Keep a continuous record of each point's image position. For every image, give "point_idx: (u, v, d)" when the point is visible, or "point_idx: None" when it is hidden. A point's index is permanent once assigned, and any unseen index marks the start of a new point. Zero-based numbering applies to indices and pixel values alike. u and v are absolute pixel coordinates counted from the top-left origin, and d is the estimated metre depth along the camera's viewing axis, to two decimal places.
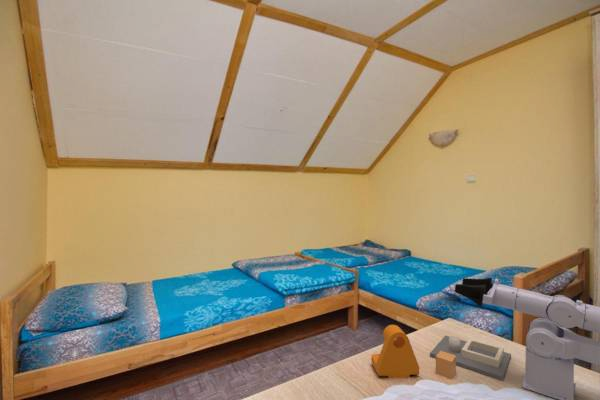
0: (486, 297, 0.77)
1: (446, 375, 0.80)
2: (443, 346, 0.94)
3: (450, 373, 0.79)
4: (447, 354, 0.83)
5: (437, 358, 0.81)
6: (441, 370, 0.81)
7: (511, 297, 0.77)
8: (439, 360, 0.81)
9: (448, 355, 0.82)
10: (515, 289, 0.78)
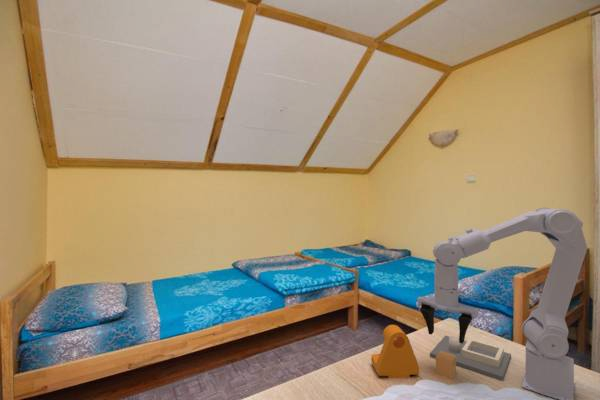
0: (476, 315, 0.76)
1: (446, 375, 0.80)
2: (443, 346, 0.94)
3: (450, 373, 0.79)
4: (447, 354, 0.83)
5: (437, 358, 0.81)
6: (441, 370, 0.81)
7: (456, 292, 0.79)
8: (439, 360, 0.81)
9: (448, 355, 0.82)
10: (446, 291, 0.79)
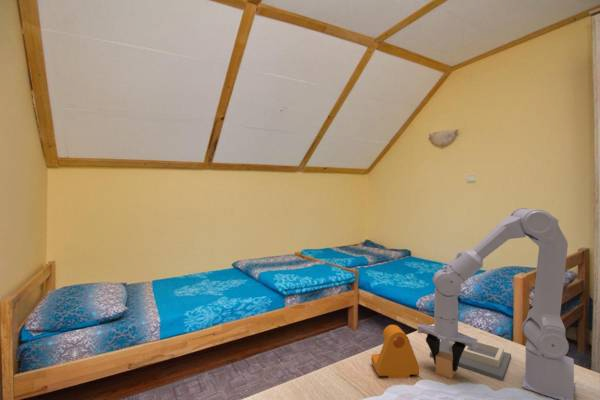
0: (476, 346, 0.76)
1: (446, 374, 0.80)
2: (443, 346, 0.94)
3: (450, 373, 0.79)
4: (447, 354, 0.83)
5: (437, 358, 0.81)
6: (441, 370, 0.81)
7: (456, 322, 0.79)
8: (439, 360, 0.81)
9: (448, 354, 0.82)
10: (446, 321, 0.79)
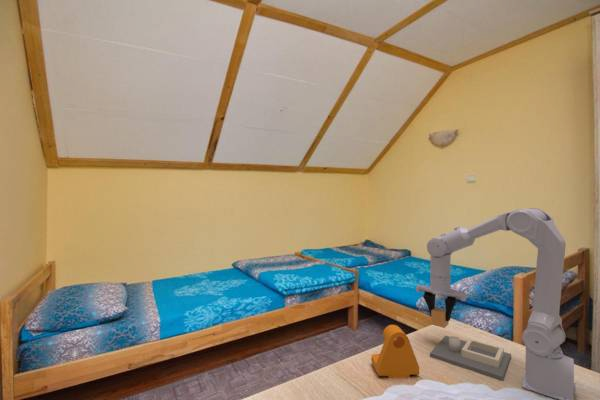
0: (465, 298, 0.92)
1: (440, 325, 0.95)
2: (443, 346, 0.94)
3: (443, 323, 0.94)
4: (441, 309, 0.98)
5: (432, 311, 0.96)
6: (435, 321, 0.96)
7: (448, 280, 0.94)
8: (434, 313, 0.96)
9: (442, 309, 0.97)
10: (440, 279, 0.94)
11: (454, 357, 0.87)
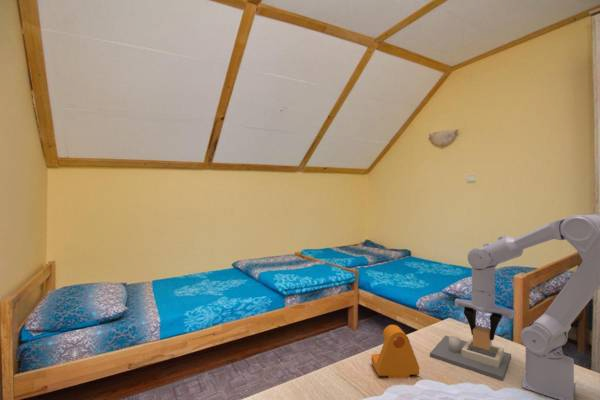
0: (512, 315, 0.83)
1: (483, 346, 0.86)
2: (443, 346, 0.94)
3: (487, 345, 0.85)
4: (483, 328, 0.89)
5: (474, 331, 0.87)
6: (478, 342, 0.87)
7: (493, 295, 0.86)
8: (476, 333, 0.87)
9: (484, 328, 0.88)
10: (484, 293, 0.86)
11: (454, 357, 0.87)
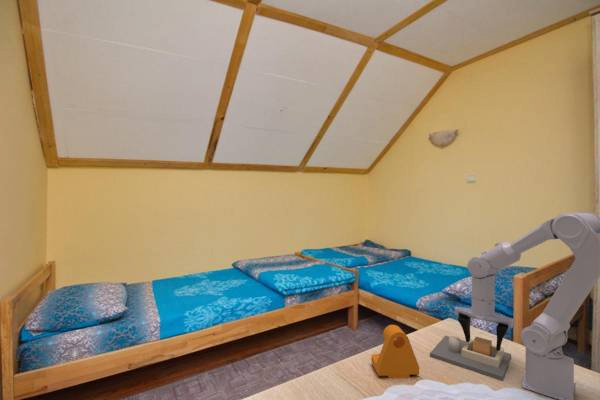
0: (512, 324, 0.83)
1: None
2: (443, 346, 0.94)
3: None
4: (483, 339, 0.89)
5: (474, 343, 0.87)
6: None
7: (493, 304, 0.86)
8: (476, 345, 0.87)
9: (484, 340, 0.88)
10: (484, 302, 0.86)
11: (454, 357, 0.87)
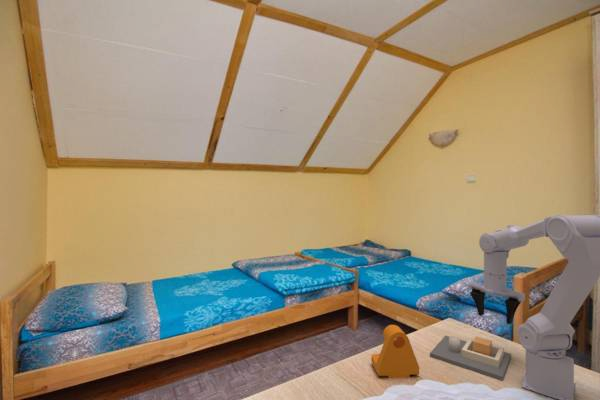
0: (522, 298, 0.85)
1: None
2: (443, 346, 0.94)
3: None
4: (483, 339, 0.89)
5: (474, 343, 0.87)
6: None
7: (503, 278, 0.89)
8: (476, 345, 0.87)
9: (484, 340, 0.88)
10: (494, 276, 0.89)
11: (454, 357, 0.87)
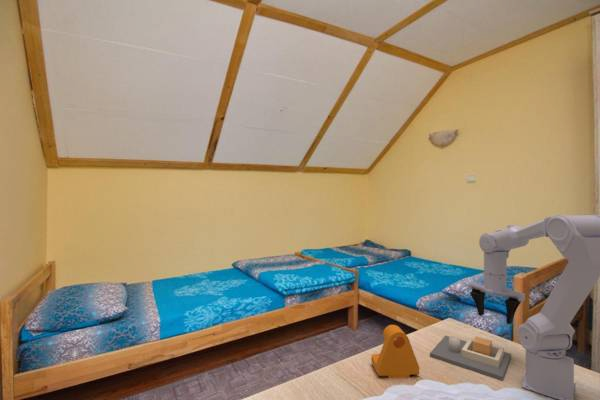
0: (522, 298, 0.85)
1: None
2: (443, 346, 0.94)
3: None
4: (483, 339, 0.89)
5: (474, 343, 0.87)
6: None
7: (503, 278, 0.89)
8: (476, 345, 0.87)
9: (484, 340, 0.88)
10: (494, 276, 0.89)
11: (454, 357, 0.87)
